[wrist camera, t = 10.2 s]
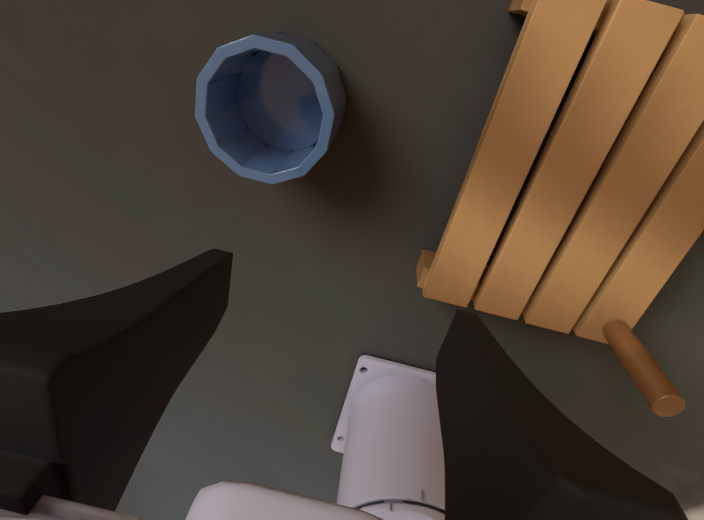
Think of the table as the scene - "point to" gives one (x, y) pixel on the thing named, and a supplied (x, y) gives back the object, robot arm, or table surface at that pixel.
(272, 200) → the table surface
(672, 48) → the rack
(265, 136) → the blue faceted cup
